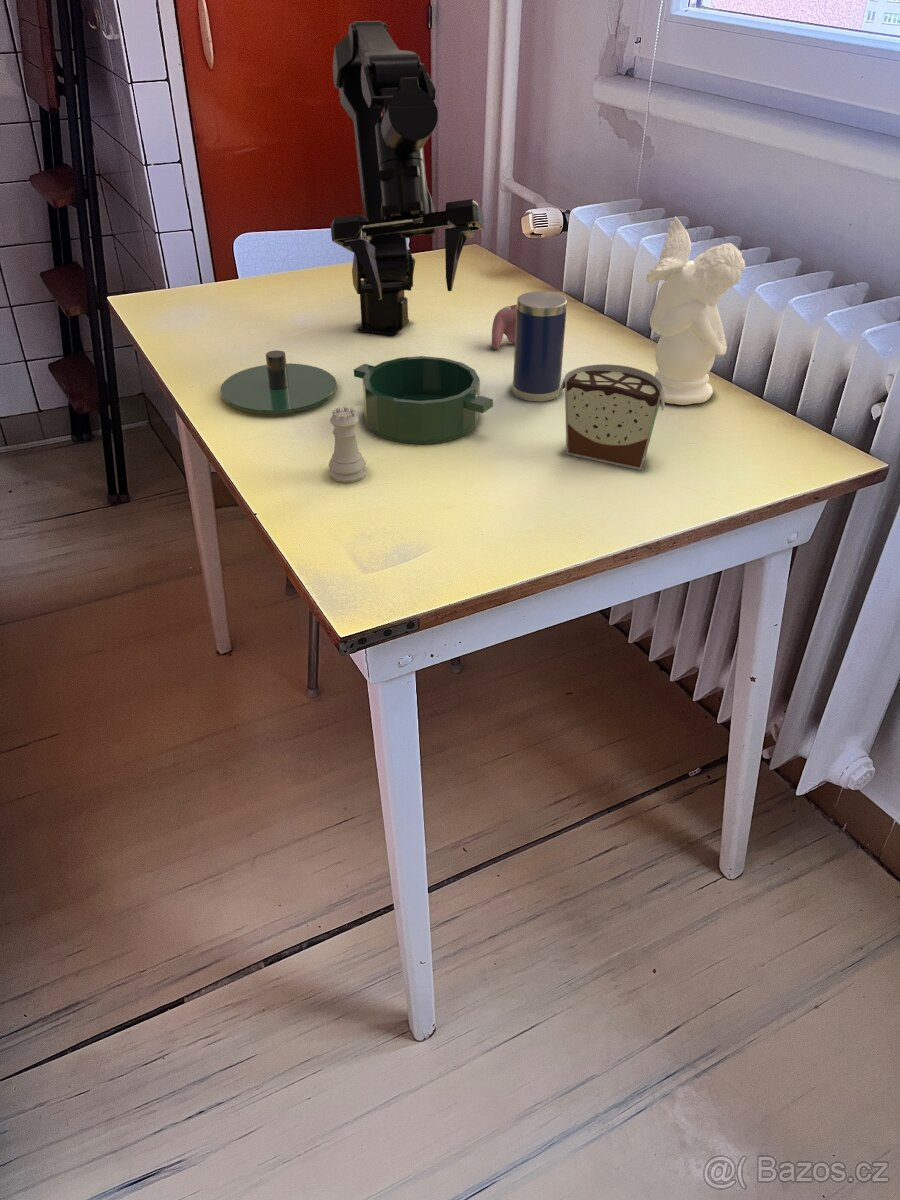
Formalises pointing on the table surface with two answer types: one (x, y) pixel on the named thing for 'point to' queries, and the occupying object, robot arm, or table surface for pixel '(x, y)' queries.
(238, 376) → the pot lid
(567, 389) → the food container
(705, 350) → the cherub figurine
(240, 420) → the table surface
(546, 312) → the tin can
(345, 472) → the rook chess piece
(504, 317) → the video game controller
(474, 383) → the pot
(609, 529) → the table surface
